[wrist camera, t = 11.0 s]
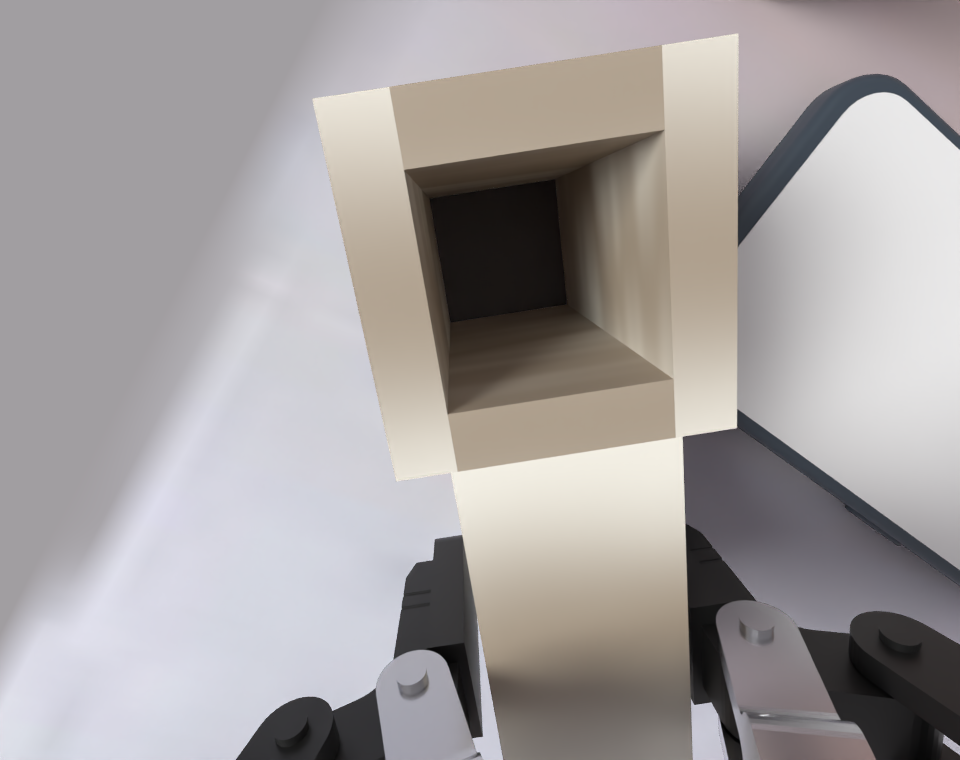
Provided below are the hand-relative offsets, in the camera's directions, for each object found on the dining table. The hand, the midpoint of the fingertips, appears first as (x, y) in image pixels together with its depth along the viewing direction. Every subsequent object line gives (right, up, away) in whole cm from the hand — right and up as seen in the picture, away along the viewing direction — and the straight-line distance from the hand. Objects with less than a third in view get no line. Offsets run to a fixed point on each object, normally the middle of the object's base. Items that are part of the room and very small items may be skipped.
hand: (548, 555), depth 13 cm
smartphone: (+11, +5, +3) cm, 13 cm away
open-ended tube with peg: (-1, +4, +2) cm, 5 cm away
